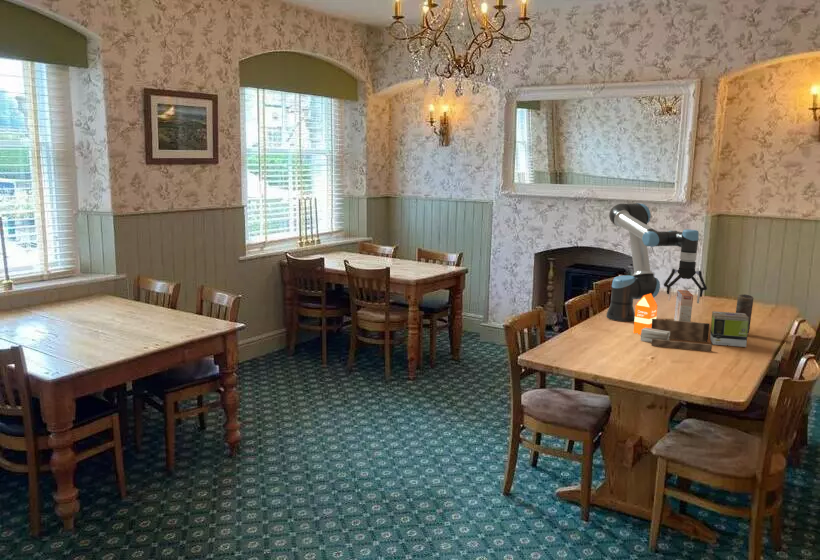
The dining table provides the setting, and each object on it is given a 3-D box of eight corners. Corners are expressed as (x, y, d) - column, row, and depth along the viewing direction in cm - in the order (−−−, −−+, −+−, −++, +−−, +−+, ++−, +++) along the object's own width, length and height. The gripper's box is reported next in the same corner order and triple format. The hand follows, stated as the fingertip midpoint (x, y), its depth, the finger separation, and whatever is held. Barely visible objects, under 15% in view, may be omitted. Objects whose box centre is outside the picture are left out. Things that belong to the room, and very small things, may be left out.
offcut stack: (665, 345, 318) (666, 333, 317) (639, 341, 326) (640, 329, 325) (669, 343, 322) (670, 331, 321) (643, 338, 330) (644, 326, 329)
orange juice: (655, 332, 341) (658, 294, 338) (647, 336, 335) (651, 296, 331) (640, 330, 346) (643, 292, 343) (632, 333, 340) (636, 294, 337)
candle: (749, 333, 344) (753, 295, 340) (749, 336, 337) (754, 297, 334) (732, 331, 347) (736, 293, 344) (732, 334, 341) (737, 296, 337)
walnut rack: (651, 345, 317) (653, 327, 315) (650, 336, 334) (652, 318, 333) (711, 351, 309) (713, 332, 308) (707, 341, 327) (709, 323, 325)
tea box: (742, 342, 326) (746, 312, 324) (746, 347, 317) (749, 317, 314) (709, 339, 331) (712, 310, 328) (711, 344, 321) (714, 314, 319)
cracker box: (689, 336, 336) (693, 295, 332) (677, 335, 338) (680, 294, 334) (685, 329, 350) (689, 290, 346) (672, 328, 351) (676, 289, 347)
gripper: (661, 259, 337) (657, 300, 341) (715, 263, 330) (710, 305, 334) (661, 257, 344) (657, 297, 348) (714, 261, 337) (709, 302, 341)
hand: (683, 301), depth 341 cm, fingers open, 13 cm apart
